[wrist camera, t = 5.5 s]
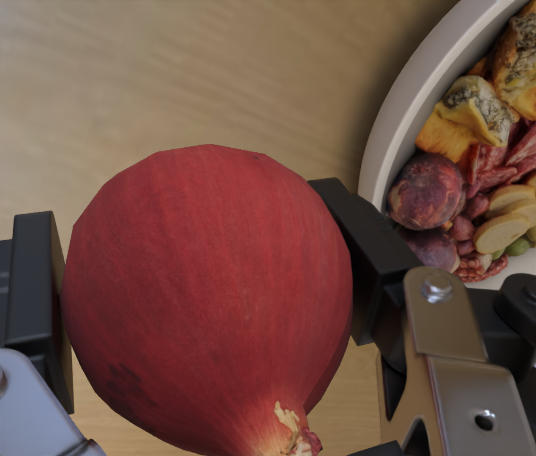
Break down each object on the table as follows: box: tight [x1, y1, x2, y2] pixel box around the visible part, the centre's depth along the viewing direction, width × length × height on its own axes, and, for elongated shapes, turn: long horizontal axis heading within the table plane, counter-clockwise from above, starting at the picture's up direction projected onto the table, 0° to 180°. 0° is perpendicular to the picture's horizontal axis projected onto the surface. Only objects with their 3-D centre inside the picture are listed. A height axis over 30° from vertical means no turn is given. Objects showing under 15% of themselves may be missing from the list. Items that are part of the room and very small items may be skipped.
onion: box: [59, 144, 353, 456], centre depth 10 cm, size 6×6×8 cm
